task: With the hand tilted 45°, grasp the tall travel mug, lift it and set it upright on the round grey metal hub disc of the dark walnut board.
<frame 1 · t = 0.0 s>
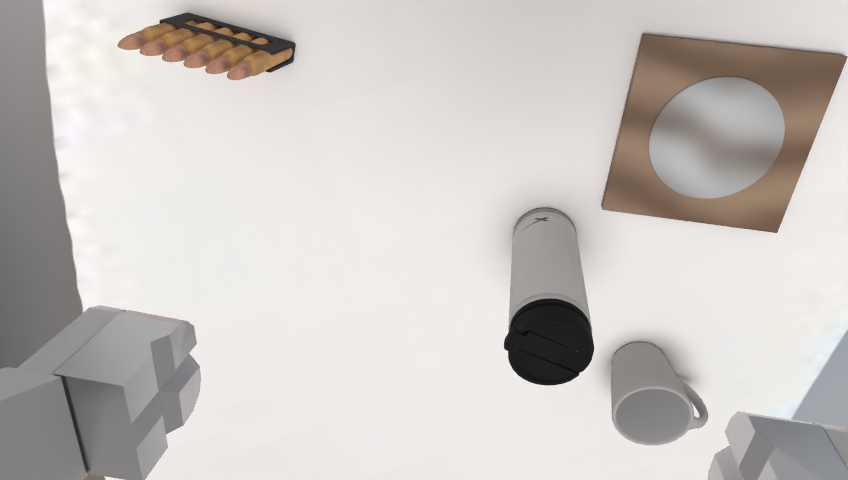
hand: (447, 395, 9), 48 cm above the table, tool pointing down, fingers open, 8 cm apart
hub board: (711, 136, 53), on the table
travel mug: (542, 233, 60), on the table
cup: (648, 364, 65), on the table
ammunition clip: (241, 37, 56), on the table
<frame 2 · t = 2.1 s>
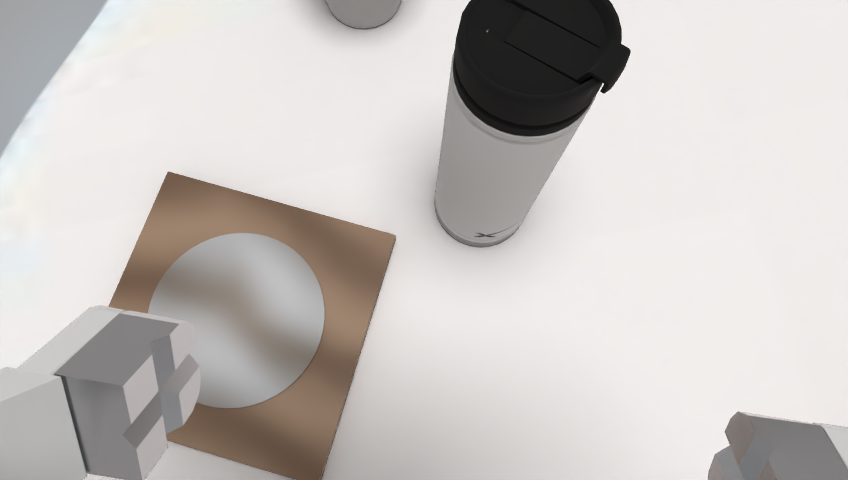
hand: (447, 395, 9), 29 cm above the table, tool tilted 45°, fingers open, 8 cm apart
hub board: (241, 320, 38), on the table
travel mug: (481, 206, 41), on the table
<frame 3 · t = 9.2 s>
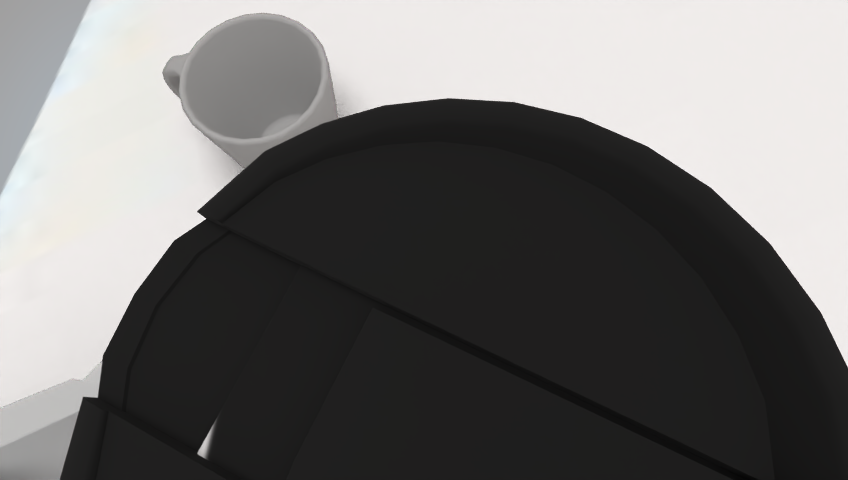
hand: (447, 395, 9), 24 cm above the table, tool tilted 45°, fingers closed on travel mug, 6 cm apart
travel mug: (456, 424, 23), point 9 cm above the table, touching gripper
cup: (280, 147, 38), on the table
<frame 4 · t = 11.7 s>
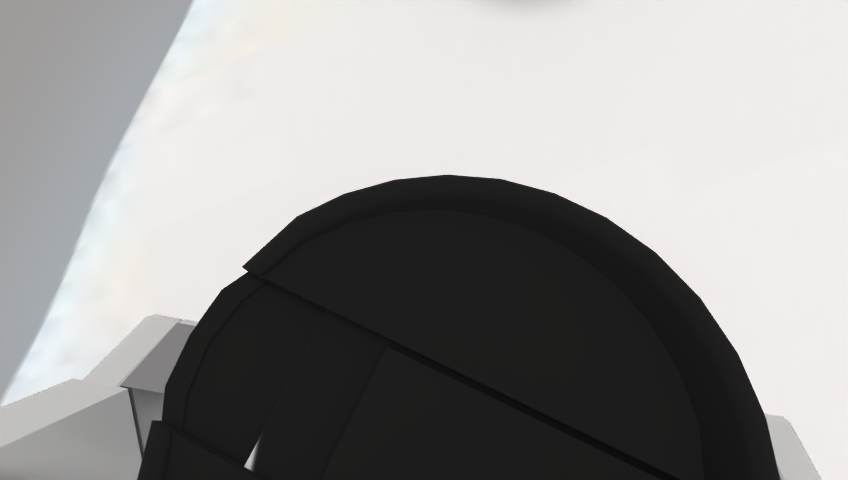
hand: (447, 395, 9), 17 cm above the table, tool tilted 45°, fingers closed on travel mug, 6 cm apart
travel mug: (453, 438, 24), point 1 cm above the table, touching gripper, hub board
when the fingers open (14 cm above the table, at t = 13.1 s): travel mug stays where it is, resting on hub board.
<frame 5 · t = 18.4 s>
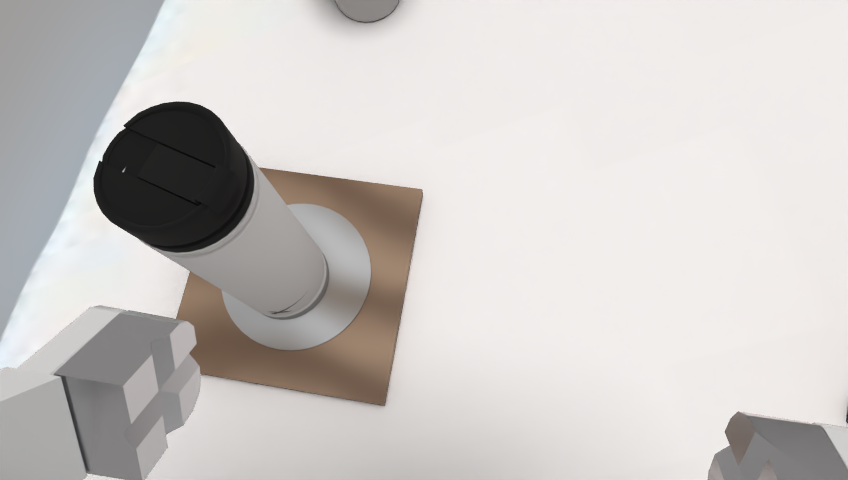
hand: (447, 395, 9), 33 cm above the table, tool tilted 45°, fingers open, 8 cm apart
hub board: (300, 278, 45), on the table
travel mug: (290, 279, 43), point 1 cm above the table, touching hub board
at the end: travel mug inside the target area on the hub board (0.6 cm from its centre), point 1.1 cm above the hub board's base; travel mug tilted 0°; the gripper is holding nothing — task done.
